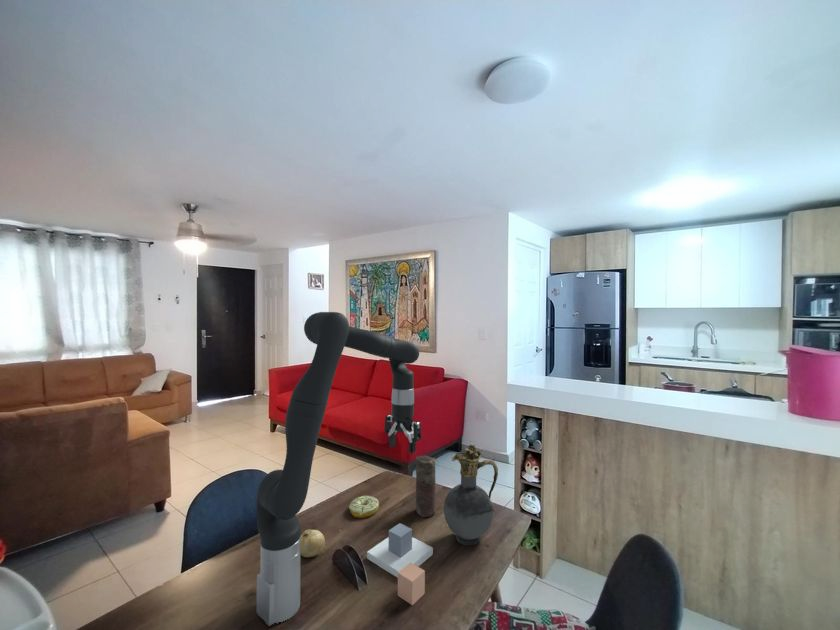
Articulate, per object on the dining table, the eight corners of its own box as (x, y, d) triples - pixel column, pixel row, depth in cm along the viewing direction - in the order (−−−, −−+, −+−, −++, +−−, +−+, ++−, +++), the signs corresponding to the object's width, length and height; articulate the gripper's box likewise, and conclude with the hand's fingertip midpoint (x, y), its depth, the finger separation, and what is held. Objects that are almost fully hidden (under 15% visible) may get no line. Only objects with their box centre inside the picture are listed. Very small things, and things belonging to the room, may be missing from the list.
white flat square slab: (402, 580, 99) (402, 573, 99) (366, 558, 108) (367, 551, 108) (432, 554, 110) (432, 547, 110) (398, 536, 118) (398, 530, 118)
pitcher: (439, 534, 119) (439, 444, 119) (487, 521, 127) (488, 436, 127) (454, 555, 109) (455, 456, 109) (506, 540, 117) (507, 447, 117)
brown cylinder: (412, 509, 135) (412, 455, 135) (430, 504, 138) (430, 452, 138) (421, 519, 128) (421, 463, 128) (439, 515, 131) (439, 460, 131)
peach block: (412, 605, 91) (412, 581, 91) (397, 595, 94) (397, 572, 94) (424, 593, 94) (424, 570, 94) (410, 584, 98) (410, 562, 98)
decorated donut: (343, 512, 133) (343, 502, 133) (365, 500, 141) (365, 491, 141) (362, 523, 126) (362, 512, 126) (384, 510, 134) (384, 500, 134)
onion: (312, 541, 116) (312, 519, 115) (330, 550, 111) (330, 527, 111) (291, 555, 109) (291, 532, 109) (310, 565, 105) (310, 541, 105)
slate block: (400, 557, 105) (401, 537, 105) (388, 550, 108) (388, 530, 108) (411, 549, 109) (412, 529, 109) (399, 542, 112) (399, 523, 112)
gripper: (379, 400, 122) (378, 447, 122) (412, 407, 113) (411, 458, 113) (394, 396, 128) (393, 442, 128) (426, 402, 119) (425, 452, 119)
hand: (402, 449), depth 121 cm, fingers open, 8 cm apart
